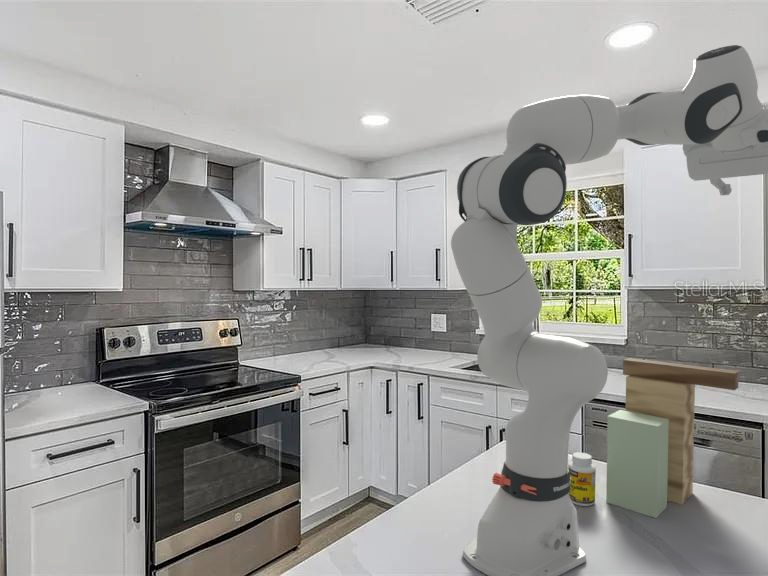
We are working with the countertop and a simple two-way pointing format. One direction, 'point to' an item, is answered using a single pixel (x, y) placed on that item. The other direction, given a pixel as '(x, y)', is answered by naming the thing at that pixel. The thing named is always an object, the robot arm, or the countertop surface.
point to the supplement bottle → (582, 479)
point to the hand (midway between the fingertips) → (752, 191)
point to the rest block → (637, 462)
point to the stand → (679, 409)
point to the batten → (682, 373)
